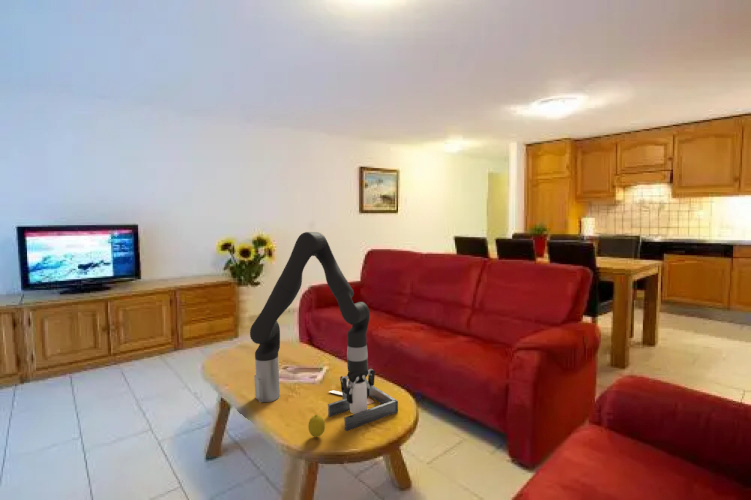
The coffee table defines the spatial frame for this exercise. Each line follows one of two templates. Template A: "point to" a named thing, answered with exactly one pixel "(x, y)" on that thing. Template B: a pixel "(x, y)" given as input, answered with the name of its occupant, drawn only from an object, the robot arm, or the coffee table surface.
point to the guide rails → (368, 415)
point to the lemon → (316, 425)
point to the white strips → (338, 391)
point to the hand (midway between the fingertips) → (358, 399)
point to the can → (359, 397)
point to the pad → (369, 401)
